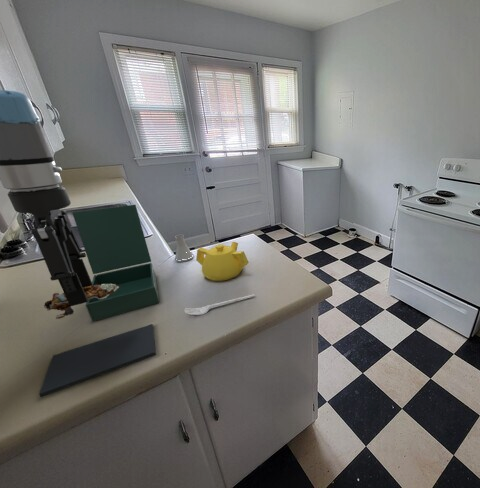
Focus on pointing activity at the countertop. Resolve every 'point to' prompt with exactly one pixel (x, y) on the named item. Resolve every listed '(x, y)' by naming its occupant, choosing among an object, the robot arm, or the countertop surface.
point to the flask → (182, 249)
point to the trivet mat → (98, 358)
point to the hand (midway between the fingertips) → (82, 294)
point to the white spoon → (205, 309)
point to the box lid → (112, 237)
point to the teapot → (221, 262)
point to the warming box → (124, 291)
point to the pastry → (91, 292)
